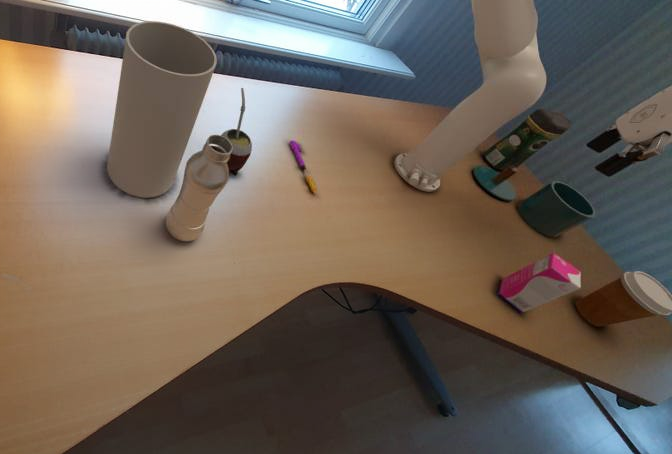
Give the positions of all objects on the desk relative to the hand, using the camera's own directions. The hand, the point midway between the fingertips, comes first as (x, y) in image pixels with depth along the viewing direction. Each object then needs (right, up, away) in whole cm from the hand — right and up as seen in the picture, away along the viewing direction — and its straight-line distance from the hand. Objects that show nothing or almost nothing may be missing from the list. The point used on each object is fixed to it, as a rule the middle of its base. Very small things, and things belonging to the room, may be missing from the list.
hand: (596, 160), depth 77 cm
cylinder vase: (-94, -4, -8) cm, 94 cm away
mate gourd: (-78, -1, 0) cm, 78 cm away
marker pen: (-59, -1, +8) cm, 59 cm away
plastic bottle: (-86, -15, -12) cm, 88 cm away
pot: (+10, -12, +24) cm, 28 cm away
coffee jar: (+9, +6, +36) cm, 38 cm away
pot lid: (+1, -2, +27) cm, 27 cm away
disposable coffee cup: (+5, -33, +6) cm, 34 cm away
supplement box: (-16, -29, +2) cm, 33 cm away
